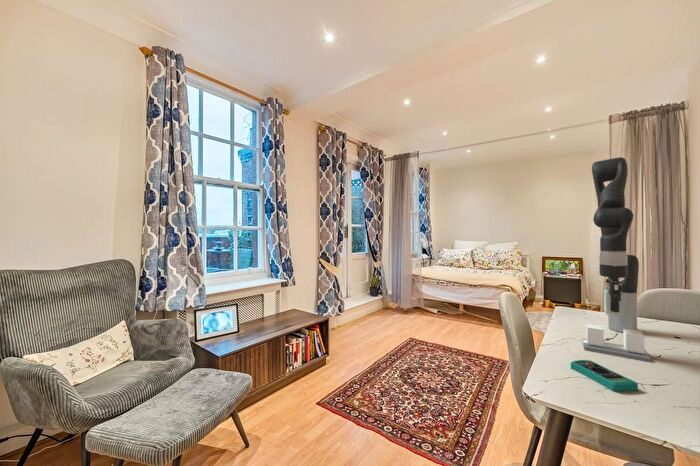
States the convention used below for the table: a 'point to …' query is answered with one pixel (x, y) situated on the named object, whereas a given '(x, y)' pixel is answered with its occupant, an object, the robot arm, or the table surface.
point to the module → (608, 306)
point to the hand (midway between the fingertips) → (613, 309)
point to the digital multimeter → (604, 376)
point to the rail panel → (629, 349)
